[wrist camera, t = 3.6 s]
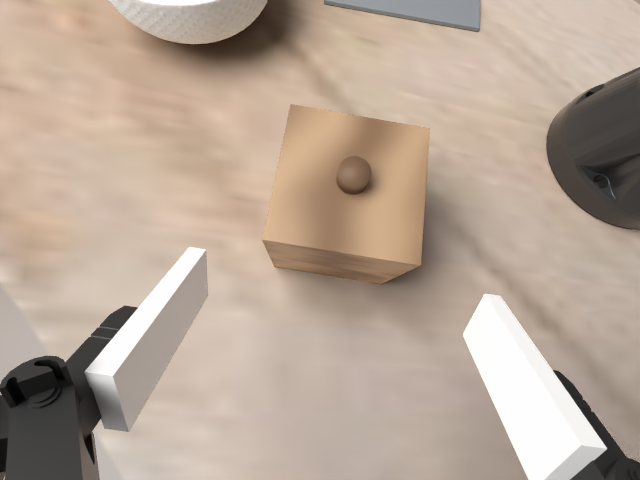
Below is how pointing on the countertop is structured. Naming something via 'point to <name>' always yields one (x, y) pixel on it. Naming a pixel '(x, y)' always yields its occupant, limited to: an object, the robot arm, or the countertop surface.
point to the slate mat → (422, 10)
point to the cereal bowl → (190, 18)
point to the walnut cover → (348, 196)
